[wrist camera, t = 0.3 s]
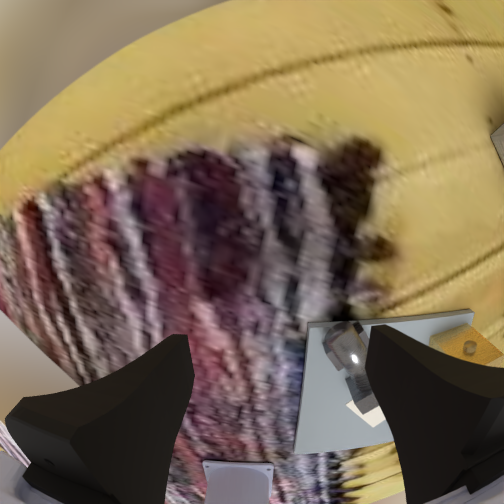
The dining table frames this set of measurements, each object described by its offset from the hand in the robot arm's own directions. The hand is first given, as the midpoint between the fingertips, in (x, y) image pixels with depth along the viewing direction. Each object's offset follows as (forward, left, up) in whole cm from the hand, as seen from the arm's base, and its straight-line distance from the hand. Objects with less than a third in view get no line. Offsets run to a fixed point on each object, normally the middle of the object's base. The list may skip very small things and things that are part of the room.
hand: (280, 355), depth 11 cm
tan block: (-7, -16, -9) cm, 20 cm away
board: (-12, -11, -10) cm, 19 cm away
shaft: (-6, -7, -9) cm, 13 cm away
